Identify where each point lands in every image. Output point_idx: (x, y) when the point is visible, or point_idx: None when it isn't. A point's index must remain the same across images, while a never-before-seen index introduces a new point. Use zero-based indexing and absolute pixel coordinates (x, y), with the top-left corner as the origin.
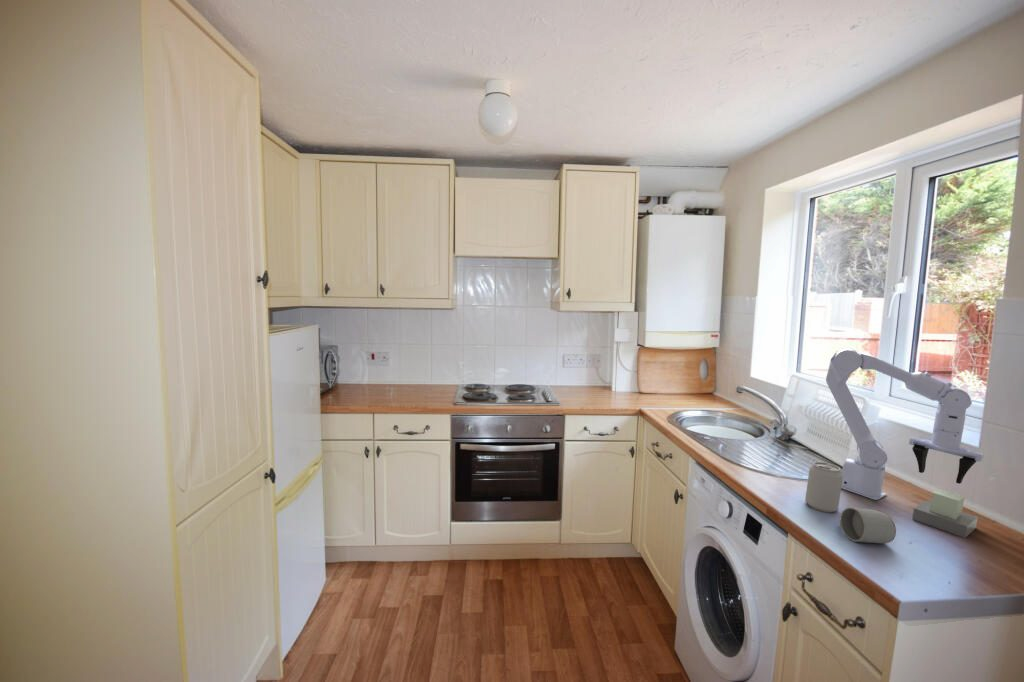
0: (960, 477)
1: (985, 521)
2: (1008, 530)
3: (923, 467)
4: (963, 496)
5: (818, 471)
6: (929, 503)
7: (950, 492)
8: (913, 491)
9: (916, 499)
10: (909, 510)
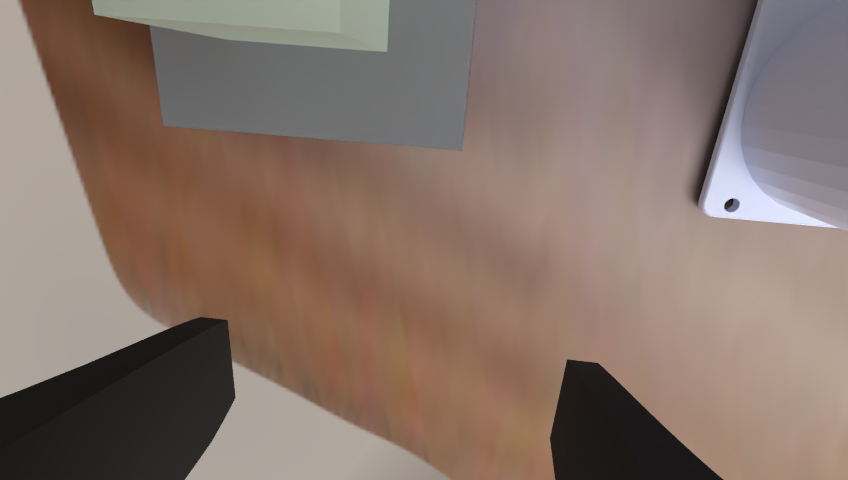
0: (124, 353)
1: (225, 296)
2: (132, 262)
3: (579, 452)
4: (103, 12)
5: None
6: (432, 87)
7: (222, 23)
8: None
9: (530, 321)
10: (536, 26)
